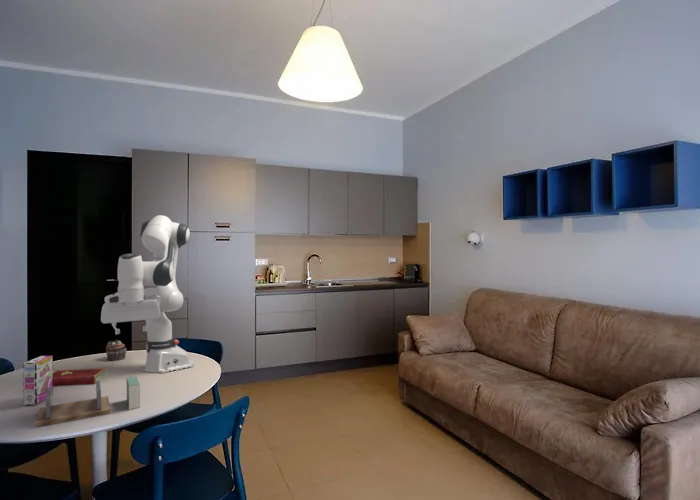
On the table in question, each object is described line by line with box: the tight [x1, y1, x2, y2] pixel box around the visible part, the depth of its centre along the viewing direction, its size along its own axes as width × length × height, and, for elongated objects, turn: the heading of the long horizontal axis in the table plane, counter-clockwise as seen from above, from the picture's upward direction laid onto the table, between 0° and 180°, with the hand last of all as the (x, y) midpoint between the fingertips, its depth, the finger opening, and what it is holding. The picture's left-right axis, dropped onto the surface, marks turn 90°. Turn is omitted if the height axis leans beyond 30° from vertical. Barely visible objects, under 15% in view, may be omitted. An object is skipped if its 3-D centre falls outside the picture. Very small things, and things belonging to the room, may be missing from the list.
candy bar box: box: [22, 355, 54, 406], centre depth 172 cm, size 11×5×16 cm, turn 5°
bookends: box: [45, 380, 102, 420], centre depth 160 cm, size 16×13×7 cm
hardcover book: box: [53, 367, 107, 387], centre depth 196 cm, size 12×21×4 cm, turn 98°
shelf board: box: [35, 395, 111, 428], centre depth 160 cm, size 22×16×2 cm
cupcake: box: [105, 339, 127, 362], centre depth 231 cm, size 10×10×10 cm
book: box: [125, 375, 141, 410], centre depth 168 cm, size 4×11×9 cm, turn 31°
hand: (131, 332), depth 167 cm, fingers open, 8 cm apart
